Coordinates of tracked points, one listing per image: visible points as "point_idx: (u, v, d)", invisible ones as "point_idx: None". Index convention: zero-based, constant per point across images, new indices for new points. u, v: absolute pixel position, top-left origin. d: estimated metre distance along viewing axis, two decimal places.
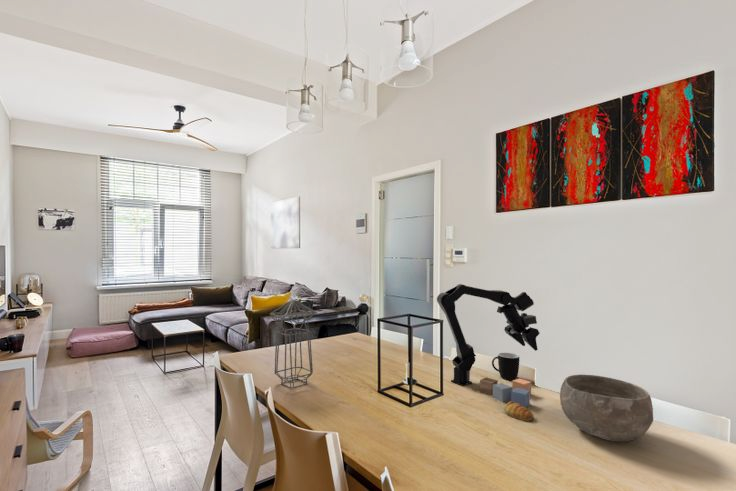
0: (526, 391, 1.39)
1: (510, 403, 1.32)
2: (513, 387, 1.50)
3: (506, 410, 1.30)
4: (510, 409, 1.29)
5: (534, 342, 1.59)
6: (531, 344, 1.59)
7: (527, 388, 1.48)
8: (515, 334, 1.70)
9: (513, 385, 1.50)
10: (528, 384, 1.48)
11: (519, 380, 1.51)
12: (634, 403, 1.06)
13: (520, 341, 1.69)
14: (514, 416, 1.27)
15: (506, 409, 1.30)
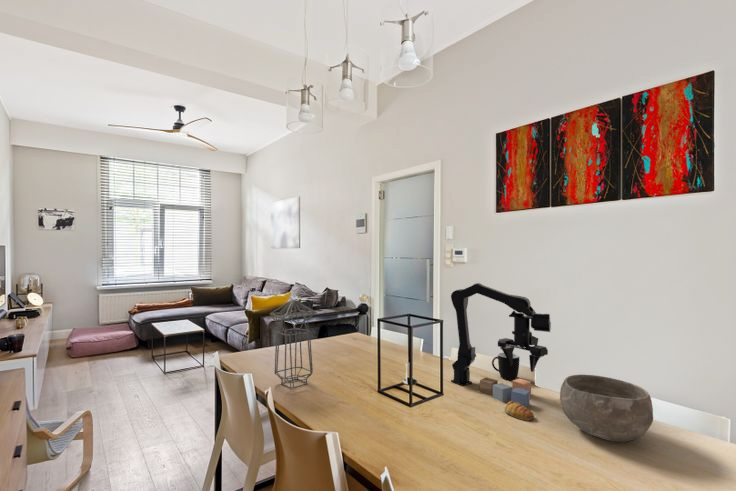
0: (526, 391, 1.39)
1: (510, 403, 1.32)
2: (513, 387, 1.50)
3: (506, 410, 1.30)
4: (510, 409, 1.29)
5: (535, 362, 1.46)
6: (533, 362, 1.45)
7: (527, 388, 1.48)
8: (509, 350, 1.54)
9: (513, 385, 1.50)
10: (528, 384, 1.48)
11: (519, 380, 1.51)
12: (634, 403, 1.06)
13: (510, 359, 1.53)
14: (515, 416, 1.28)
15: (506, 409, 1.31)
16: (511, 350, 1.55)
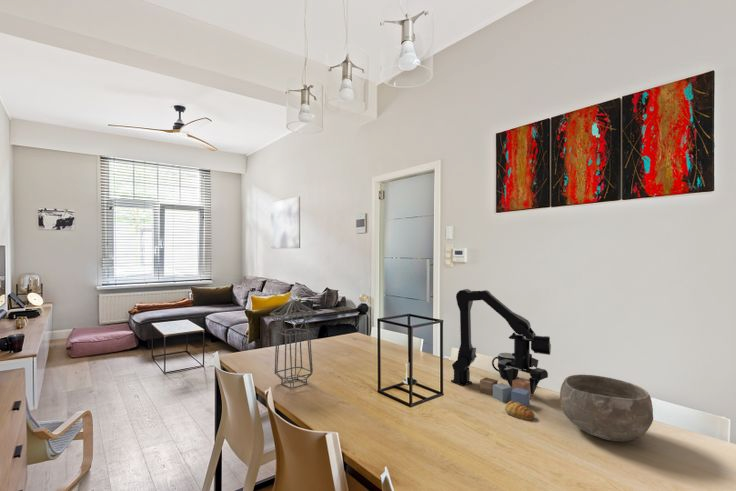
0: (526, 391, 1.39)
1: (511, 402, 1.32)
2: (513, 387, 1.50)
3: (507, 410, 1.31)
4: (511, 409, 1.30)
5: (535, 385, 1.45)
6: (533, 385, 1.44)
7: (527, 388, 1.48)
8: (509, 371, 1.54)
9: (513, 385, 1.50)
10: (528, 384, 1.48)
11: (519, 380, 1.51)
12: (634, 403, 1.06)
13: (510, 381, 1.53)
14: (515, 415, 1.28)
15: (507, 409, 1.31)
16: (511, 371, 1.54)
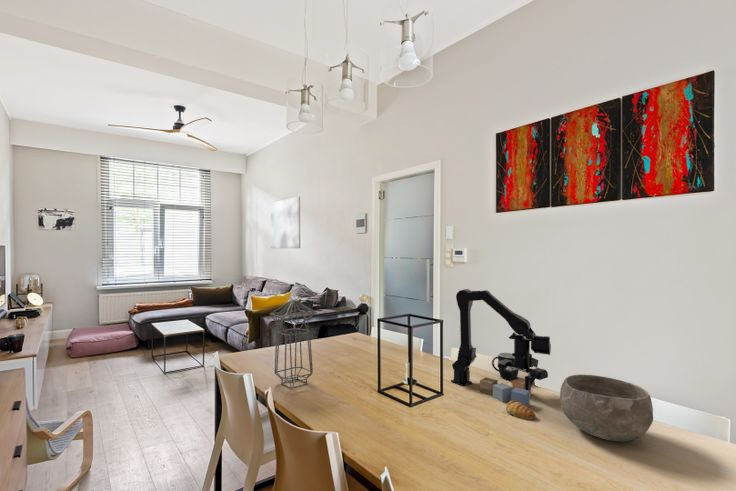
0: (526, 391, 1.39)
1: (511, 402, 1.32)
2: (513, 387, 1.50)
3: (508, 409, 1.31)
4: (512, 408, 1.30)
5: (531, 383, 1.47)
6: (529, 384, 1.46)
7: None
8: (513, 373, 1.52)
9: (513, 385, 1.50)
10: None
11: (519, 380, 1.51)
12: (634, 403, 1.06)
13: None
14: (516, 415, 1.28)
15: (508, 408, 1.31)
16: (515, 373, 1.53)
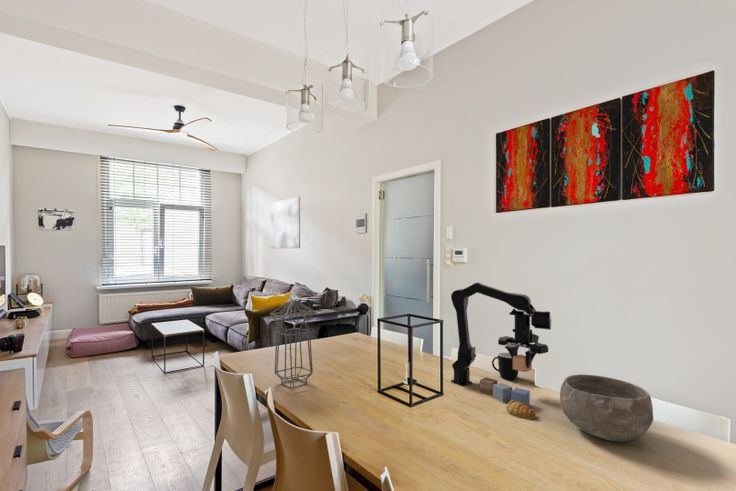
0: (526, 391, 1.39)
1: (512, 402, 1.33)
2: (513, 363, 1.50)
3: (509, 409, 1.31)
4: (513, 408, 1.30)
5: (531, 358, 1.47)
6: (529, 359, 1.46)
7: None
8: (513, 349, 1.52)
9: (513, 361, 1.50)
10: None
11: (519, 356, 1.51)
12: (634, 403, 1.06)
13: None
14: (517, 415, 1.29)
15: (509, 408, 1.31)
16: (516, 349, 1.53)
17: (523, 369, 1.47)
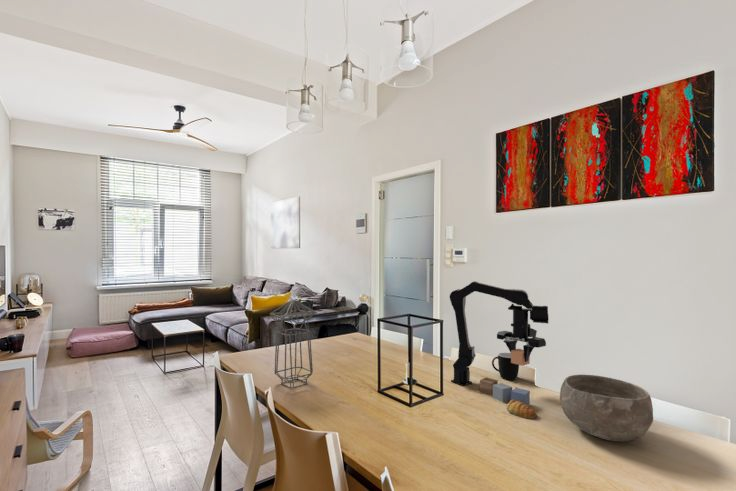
0: (526, 391, 1.39)
1: (512, 401, 1.33)
2: (512, 356, 1.53)
3: (509, 409, 1.31)
4: (513, 408, 1.30)
5: (529, 352, 1.50)
6: (527, 353, 1.49)
7: None
8: (512, 343, 1.55)
9: (512, 354, 1.53)
10: None
11: (518, 350, 1.54)
12: (634, 403, 1.06)
13: None
14: (518, 414, 1.29)
15: (509, 408, 1.32)
16: (514, 343, 1.56)
17: (521, 363, 1.49)
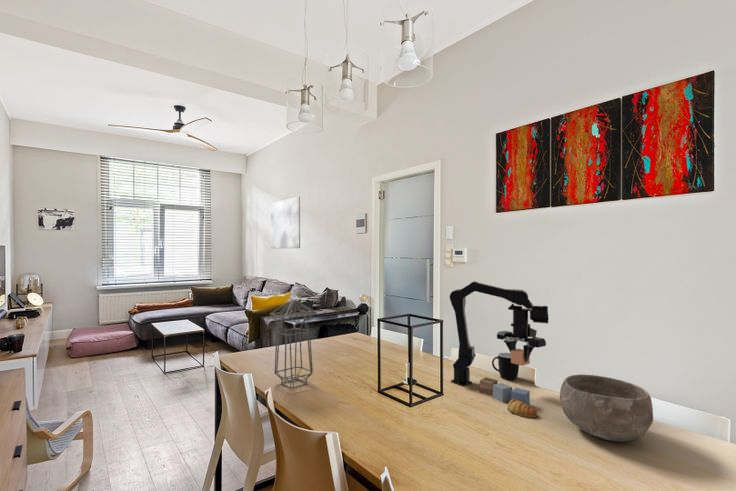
0: (526, 391, 1.39)
1: (513, 401, 1.34)
2: (512, 356, 1.53)
3: (510, 408, 1.32)
4: (514, 407, 1.31)
5: (529, 352, 1.50)
6: (527, 353, 1.49)
7: None
8: (512, 343, 1.55)
9: (512, 354, 1.53)
10: None
11: (518, 350, 1.54)
12: (634, 403, 1.06)
13: None
14: (519, 414, 1.29)
15: (510, 407, 1.32)
16: (514, 343, 1.56)
17: (521, 363, 1.49)
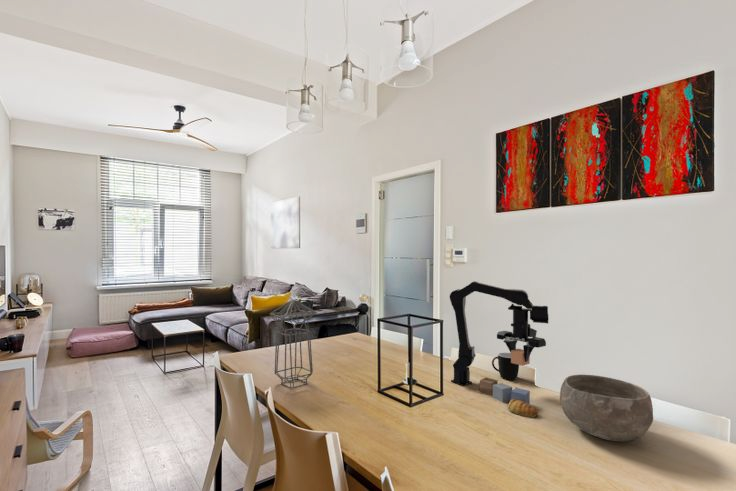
0: (526, 391, 1.39)
1: (513, 401, 1.34)
2: (512, 356, 1.53)
3: (511, 408, 1.32)
4: (515, 407, 1.31)
5: (529, 352, 1.50)
6: (527, 353, 1.49)
7: None
8: (512, 343, 1.55)
9: (512, 354, 1.53)
10: None
11: (518, 350, 1.54)
12: (634, 403, 1.06)
13: None
14: (520, 413, 1.30)
15: (510, 407, 1.32)
16: (514, 343, 1.56)
17: (521, 363, 1.49)
